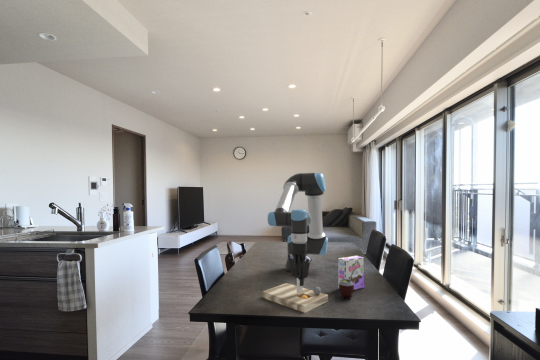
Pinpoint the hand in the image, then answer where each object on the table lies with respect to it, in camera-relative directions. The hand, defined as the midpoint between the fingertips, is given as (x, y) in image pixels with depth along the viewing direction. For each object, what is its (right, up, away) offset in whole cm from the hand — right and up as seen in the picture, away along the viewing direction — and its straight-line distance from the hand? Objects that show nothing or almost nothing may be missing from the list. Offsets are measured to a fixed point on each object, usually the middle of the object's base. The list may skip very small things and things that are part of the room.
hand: (299, 292), depth 137 cm
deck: (-2, -4, +2) cm, 5 cm away
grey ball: (+8, +1, 0) cm, 8 cm away
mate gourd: (+24, -5, +5) cm, 25 cm away
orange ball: (+2, -2, -3) cm, 4 cm away
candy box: (+29, -5, +17) cm, 35 cm away
